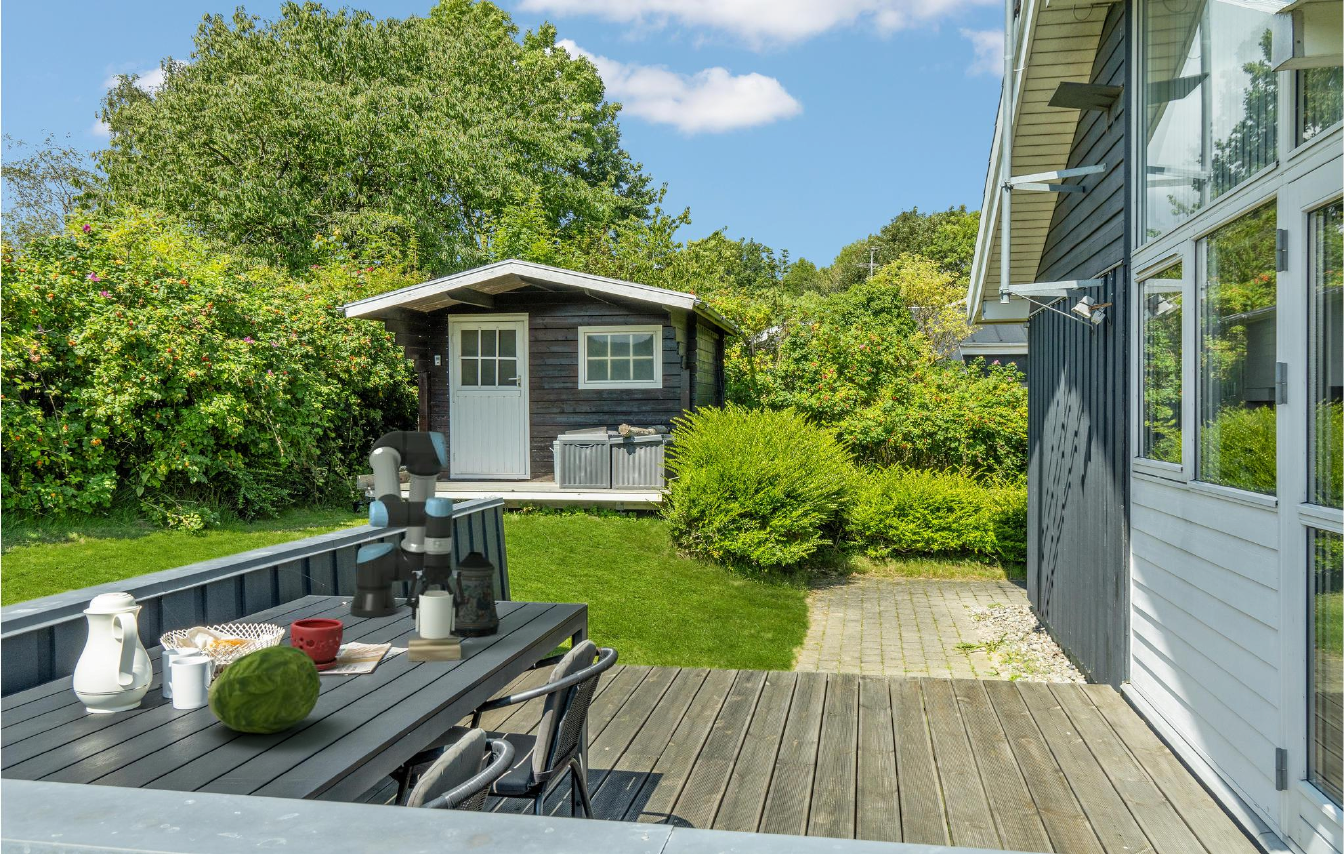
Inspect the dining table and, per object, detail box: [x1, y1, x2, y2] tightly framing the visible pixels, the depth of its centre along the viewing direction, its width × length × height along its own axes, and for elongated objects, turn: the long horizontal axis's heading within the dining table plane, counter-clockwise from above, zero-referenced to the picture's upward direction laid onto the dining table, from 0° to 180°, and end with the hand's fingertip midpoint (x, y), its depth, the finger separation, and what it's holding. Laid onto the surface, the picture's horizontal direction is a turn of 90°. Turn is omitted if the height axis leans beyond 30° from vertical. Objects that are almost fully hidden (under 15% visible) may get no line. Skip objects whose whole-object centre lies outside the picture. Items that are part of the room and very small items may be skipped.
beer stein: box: [449, 551, 501, 639], centre depth 290 cm, size 16×19×25 cm
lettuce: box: [207, 644, 321, 735], centre depth 196 cm, size 19×23×18 cm
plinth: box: [407, 636, 462, 663], centre depth 261 cm, size 14×14×3 cm
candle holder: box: [418, 590, 454, 639], centre depth 261 cm, size 10×10×12 cm
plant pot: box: [290, 618, 344, 672], centre depth 244 cm, size 13×13×12 cm
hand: (434, 629), depth 261 cm, fingers closed on candle holder, 9 cm apart
